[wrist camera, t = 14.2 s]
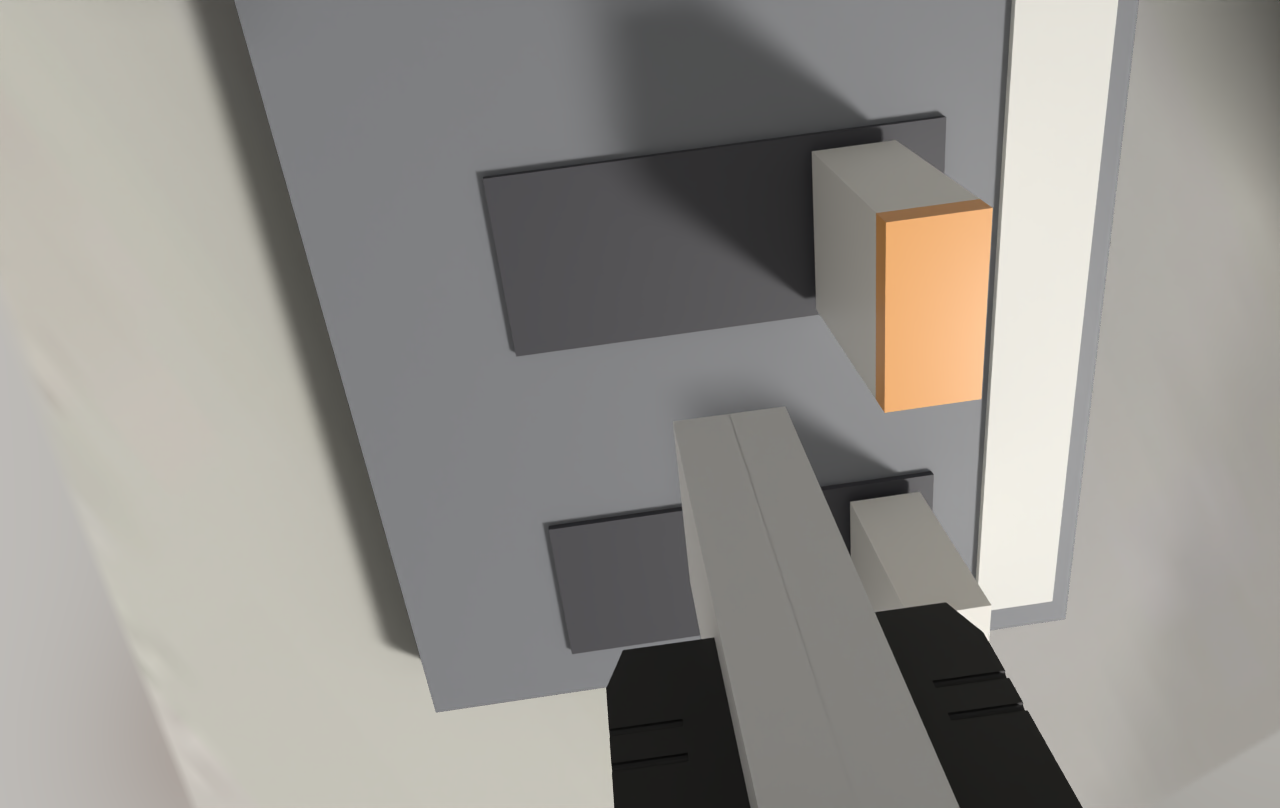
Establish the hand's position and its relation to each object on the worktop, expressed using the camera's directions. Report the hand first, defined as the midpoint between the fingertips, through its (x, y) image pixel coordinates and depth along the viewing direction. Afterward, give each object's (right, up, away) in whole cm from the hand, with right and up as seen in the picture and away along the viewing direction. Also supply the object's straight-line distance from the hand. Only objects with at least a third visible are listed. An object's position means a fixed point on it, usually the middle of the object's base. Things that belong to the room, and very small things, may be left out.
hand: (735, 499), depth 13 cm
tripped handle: (+4, +6, +11) cm, 13 cm away
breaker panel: (+1, +6, +13) cm, 14 cm away
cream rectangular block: (+6, -3, +15) cm, 17 cm away
